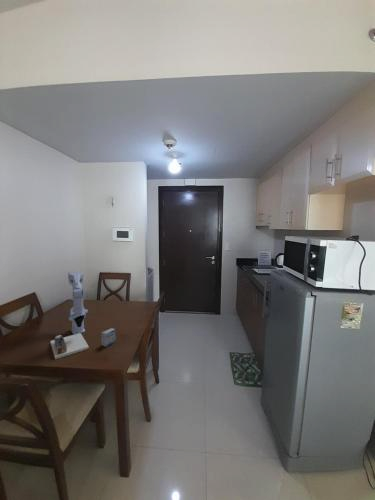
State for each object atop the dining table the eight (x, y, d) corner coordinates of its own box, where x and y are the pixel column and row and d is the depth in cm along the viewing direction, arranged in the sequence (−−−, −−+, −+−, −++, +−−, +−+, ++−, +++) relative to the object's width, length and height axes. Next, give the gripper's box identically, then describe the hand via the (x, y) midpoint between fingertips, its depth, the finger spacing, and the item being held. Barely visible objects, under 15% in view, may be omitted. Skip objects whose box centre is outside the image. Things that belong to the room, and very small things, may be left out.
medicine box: (106, 347, 136) (105, 334, 135) (101, 345, 138) (101, 332, 137) (115, 341, 143) (115, 329, 142) (111, 339, 145) (110, 327, 144)
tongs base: (53, 342, 138) (53, 337, 138) (62, 340, 141) (61, 335, 141) (57, 354, 125) (57, 349, 125) (66, 351, 128) (66, 346, 128)
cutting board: (50, 343, 140) (50, 340, 140) (80, 335, 151) (80, 332, 151) (55, 359, 123) (55, 356, 123) (88, 348, 134) (88, 346, 134)
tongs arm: (55, 341, 138) (54, 336, 138) (62, 339, 141) (62, 334, 141) (58, 353, 125) (58, 347, 125) (66, 351, 128) (66, 345, 128)
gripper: (74, 311, 134) (75, 332, 135) (91, 304, 148) (91, 322, 149) (65, 310, 136) (66, 330, 137) (83, 302, 150) (83, 321, 151)
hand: (79, 326), depth 144 cm, fingers closed
